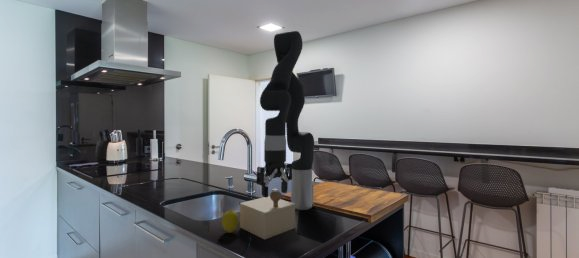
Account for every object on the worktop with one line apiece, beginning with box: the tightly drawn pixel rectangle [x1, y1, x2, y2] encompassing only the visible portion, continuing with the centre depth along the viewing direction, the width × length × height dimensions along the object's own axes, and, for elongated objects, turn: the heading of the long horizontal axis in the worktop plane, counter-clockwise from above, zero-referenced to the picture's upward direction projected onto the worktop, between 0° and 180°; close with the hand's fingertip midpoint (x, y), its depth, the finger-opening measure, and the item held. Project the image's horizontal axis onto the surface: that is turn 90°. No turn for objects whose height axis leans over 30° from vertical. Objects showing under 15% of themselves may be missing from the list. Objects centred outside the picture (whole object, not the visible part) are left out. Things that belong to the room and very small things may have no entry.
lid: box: [239, 189, 295, 215], centre depth 104 cm, size 14×14×6 cm
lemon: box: [221, 209, 240, 234], centre depth 100 cm, size 6×6×8 cm
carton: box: [239, 205, 296, 240], centre depth 104 cm, size 14×14×8 cm
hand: (274, 194), depth 101 cm, fingers open, 8 cm apart
